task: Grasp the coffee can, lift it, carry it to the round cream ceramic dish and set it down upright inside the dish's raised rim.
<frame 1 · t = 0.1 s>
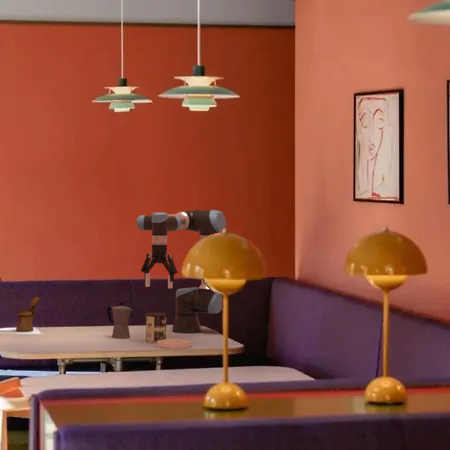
hand: (158, 287, 588), 28 cm above the table, fingers open, 13 cm apart
brown tapered pot: (28, 330, 634), on the table
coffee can: (155, 342, 597), on the table
round dish: (174, 346, 581), on the table
coffeepot: (119, 337, 611), on the table
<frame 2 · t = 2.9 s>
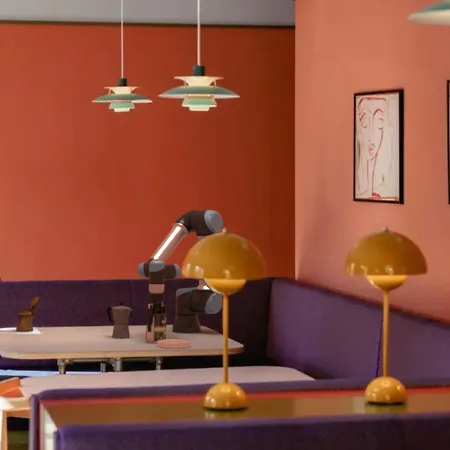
hand: (156, 337, 597), 2 cm above the table, fingers closed on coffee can, 10 cm apart
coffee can: (156, 342, 597), on the table, touching gripper
everything else where it was.
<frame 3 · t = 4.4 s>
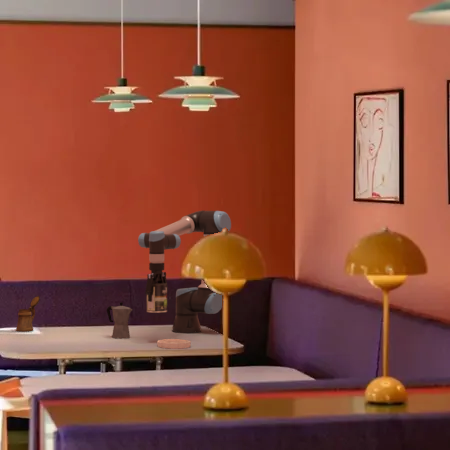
hand: (156, 306, 596), 17 cm above the table, fingers closed on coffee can, 10 cm apart
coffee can: (156, 312, 597), point 15 cm above the table, touching gripper
everything else where it was.
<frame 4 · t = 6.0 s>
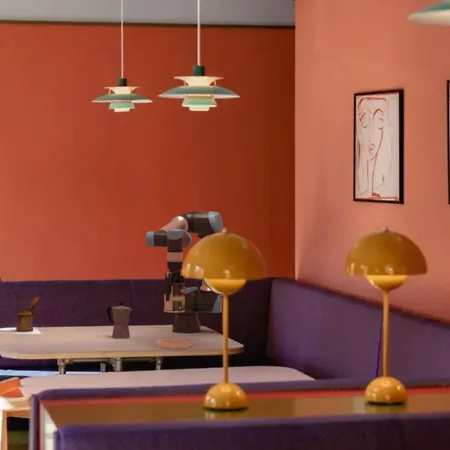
hand: (174, 306, 580), 19 cm above the table, fingers closed on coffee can, 10 cm apart
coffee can: (174, 311, 581), point 17 cm above the table, touching gripper
everything else where it was.
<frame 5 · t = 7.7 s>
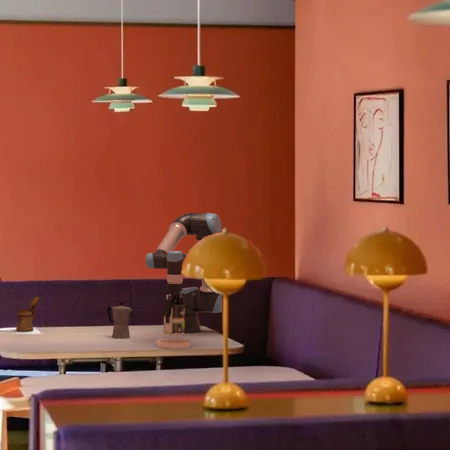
hand: (174, 328, 581), 8 cm above the table, fingers closed on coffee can, 10 cm apart
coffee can: (174, 334, 581), point 6 cm above the table, touching gripper
everything else where it was.
when the fingers open (5 cm above the table, at t = 9.0 s): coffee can drops 2 cm, resting on round dish.
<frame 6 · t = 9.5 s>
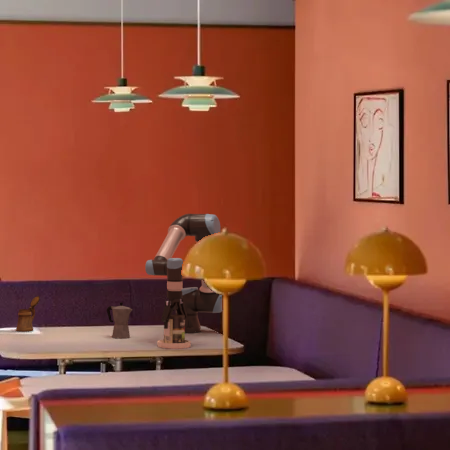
hand: (174, 333, 581), 6 cm above the table, fingers open, 13 cm apart
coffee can: (174, 344, 582), point 1 cm above the table, touching round dish
everything else where it was.
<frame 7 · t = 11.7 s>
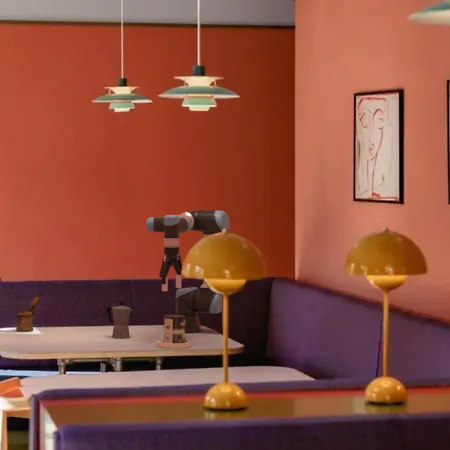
hand: (171, 289, 592), 26 cm above the table, fingers open, 13 cm apart
nothing on the table moved.
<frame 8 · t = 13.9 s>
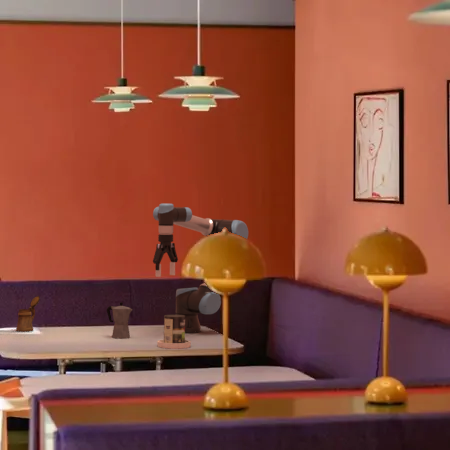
hand: (165, 275, 608), 32 cm above the table, fingers open, 13 cm apart
nothing on the table moved.
at the end: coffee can 0.4 cm from the round dish (horizontally); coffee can tilted 0°; the gripper is holding nothing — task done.
